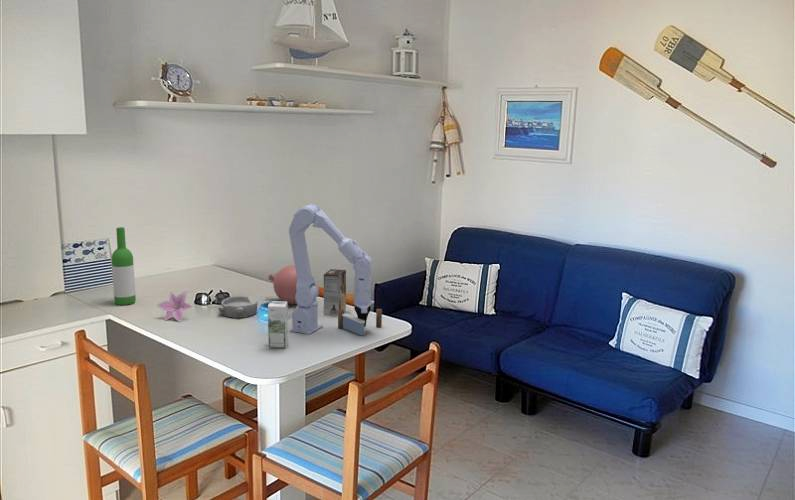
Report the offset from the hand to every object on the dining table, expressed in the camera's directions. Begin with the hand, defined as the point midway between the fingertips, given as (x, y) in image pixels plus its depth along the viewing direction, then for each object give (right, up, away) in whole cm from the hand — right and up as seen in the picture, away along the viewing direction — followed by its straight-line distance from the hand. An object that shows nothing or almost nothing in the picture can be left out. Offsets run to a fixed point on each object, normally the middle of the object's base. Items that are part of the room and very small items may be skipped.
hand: (362, 326), depth 225 cm
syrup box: (-27, -5, -15) cm, 31 cm away
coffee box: (-12, +3, +22) cm, 25 cm away
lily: (-69, +2, +10) cm, 70 cm away
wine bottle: (-95, +6, +27) cm, 99 cm away
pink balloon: (-31, +6, +34) cm, 47 cm away
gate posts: (-1, -1, +5) cm, 5 cm away
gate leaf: (-3, -1, -1) cm, 3 cm away
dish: (-48, +3, +18) cm, 51 cm away
